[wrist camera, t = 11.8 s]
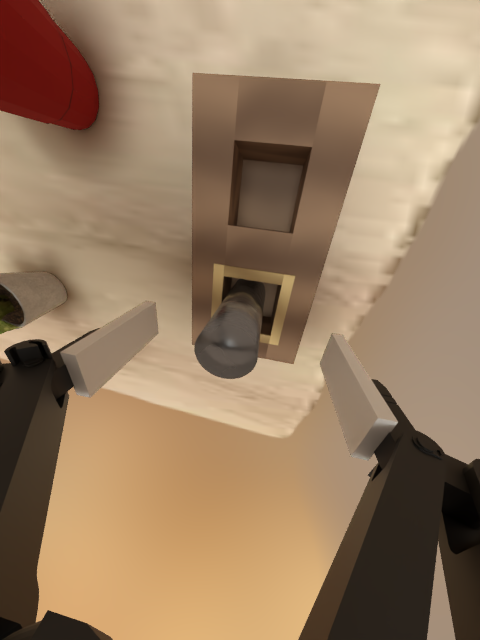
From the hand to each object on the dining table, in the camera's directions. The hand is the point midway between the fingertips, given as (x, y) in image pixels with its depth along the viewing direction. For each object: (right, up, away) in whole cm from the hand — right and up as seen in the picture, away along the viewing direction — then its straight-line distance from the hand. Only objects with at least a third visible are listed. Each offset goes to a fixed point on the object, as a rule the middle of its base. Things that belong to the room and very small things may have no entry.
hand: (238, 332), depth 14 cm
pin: (+1, +4, +9) cm, 10 cm away
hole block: (+2, +9, +7) cm, 12 cm away
